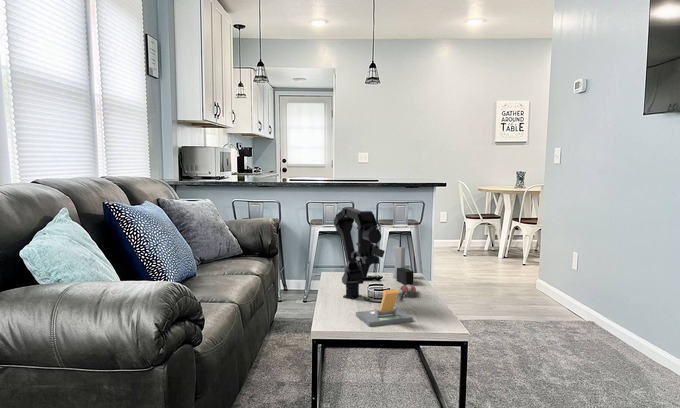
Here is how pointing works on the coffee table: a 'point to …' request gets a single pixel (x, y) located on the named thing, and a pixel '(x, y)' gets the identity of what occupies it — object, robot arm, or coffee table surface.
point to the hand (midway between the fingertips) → (364, 277)
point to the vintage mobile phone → (399, 257)
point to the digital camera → (405, 276)
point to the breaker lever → (388, 301)
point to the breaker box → (383, 317)
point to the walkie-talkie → (407, 291)
